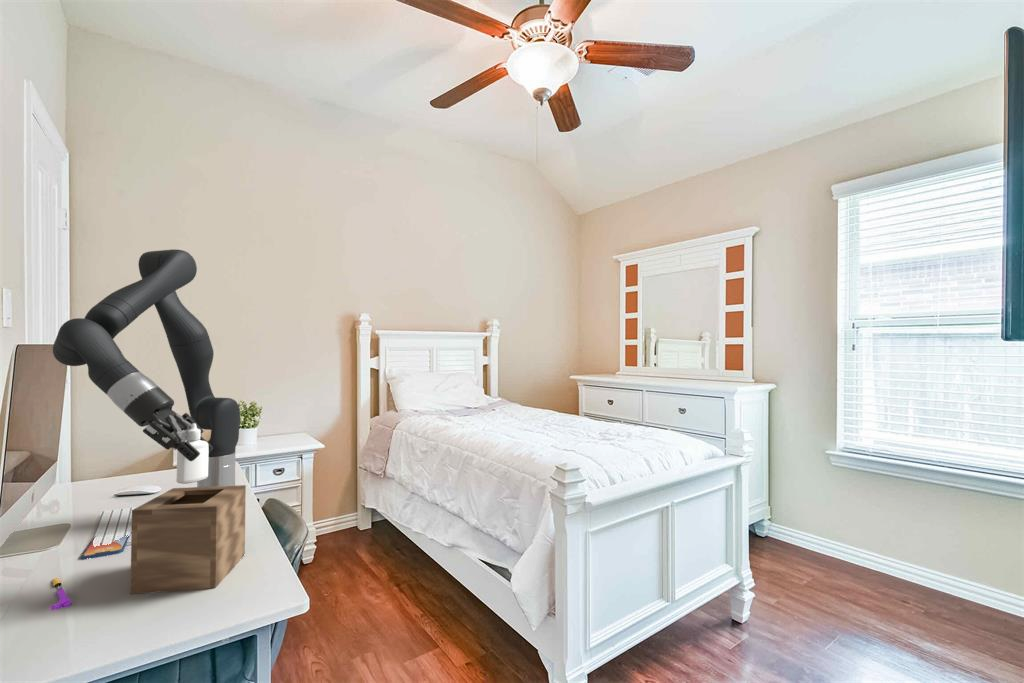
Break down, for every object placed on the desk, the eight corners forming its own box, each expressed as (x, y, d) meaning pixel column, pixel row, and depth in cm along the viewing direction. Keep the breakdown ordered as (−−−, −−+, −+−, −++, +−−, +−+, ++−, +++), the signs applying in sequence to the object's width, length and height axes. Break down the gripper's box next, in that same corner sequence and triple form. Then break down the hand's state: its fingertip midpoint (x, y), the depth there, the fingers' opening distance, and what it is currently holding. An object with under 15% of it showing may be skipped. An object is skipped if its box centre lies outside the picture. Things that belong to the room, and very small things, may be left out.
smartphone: (132, 534, 123) (132, 529, 123) (122, 554, 110) (122, 549, 110) (94, 540, 119) (94, 535, 119) (80, 561, 106) (80, 556, 106)
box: (172, 560, 106) (173, 488, 107) (244, 555, 109) (245, 485, 109) (130, 594, 92) (131, 510, 92) (215, 587, 94) (216, 506, 94)
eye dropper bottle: (209, 480, 101) (210, 423, 101) (176, 485, 97) (178, 426, 97) (207, 476, 104) (208, 421, 104) (175, 480, 101) (177, 423, 101)
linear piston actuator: (72, 606, 88) (59, 580, 98) (70, 600, 87) (57, 574, 98) (53, 615, 86) (41, 587, 96) (51, 609, 85) (39, 582, 96)
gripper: (134, 388, 93) (200, 448, 94) (173, 383, 107) (230, 435, 109) (103, 416, 92) (170, 476, 93) (147, 407, 106) (204, 460, 108)
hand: (202, 454), depth 101 cm, fingers closed on eye dropper bottle, 5 cm apart
